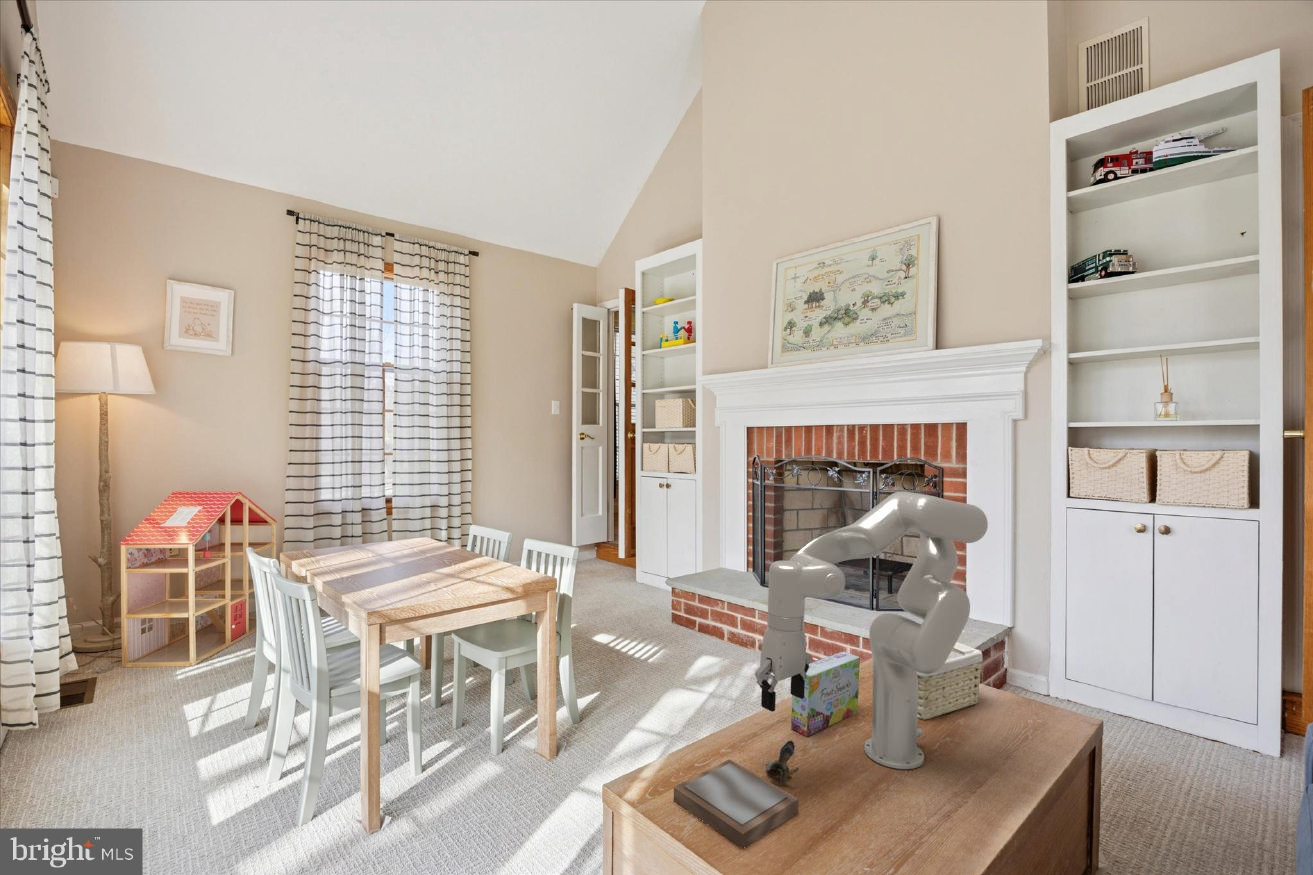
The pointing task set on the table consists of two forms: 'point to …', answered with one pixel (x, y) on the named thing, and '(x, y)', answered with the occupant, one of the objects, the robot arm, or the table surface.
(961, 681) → the storage basket
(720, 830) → the picture frame
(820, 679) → the snack box
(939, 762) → the table surface
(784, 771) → the eagle figurine
